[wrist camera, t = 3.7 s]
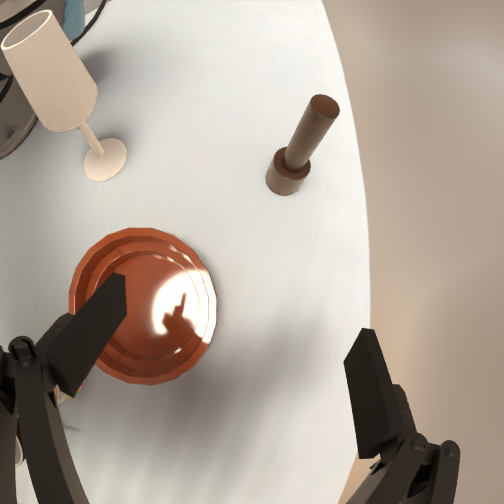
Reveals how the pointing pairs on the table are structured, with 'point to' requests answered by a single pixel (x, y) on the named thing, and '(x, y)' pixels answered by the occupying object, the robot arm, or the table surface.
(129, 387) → the table surface
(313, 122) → the pestle
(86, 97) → the champagne flute
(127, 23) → the table surface
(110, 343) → the bowl
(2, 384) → the robot arm
